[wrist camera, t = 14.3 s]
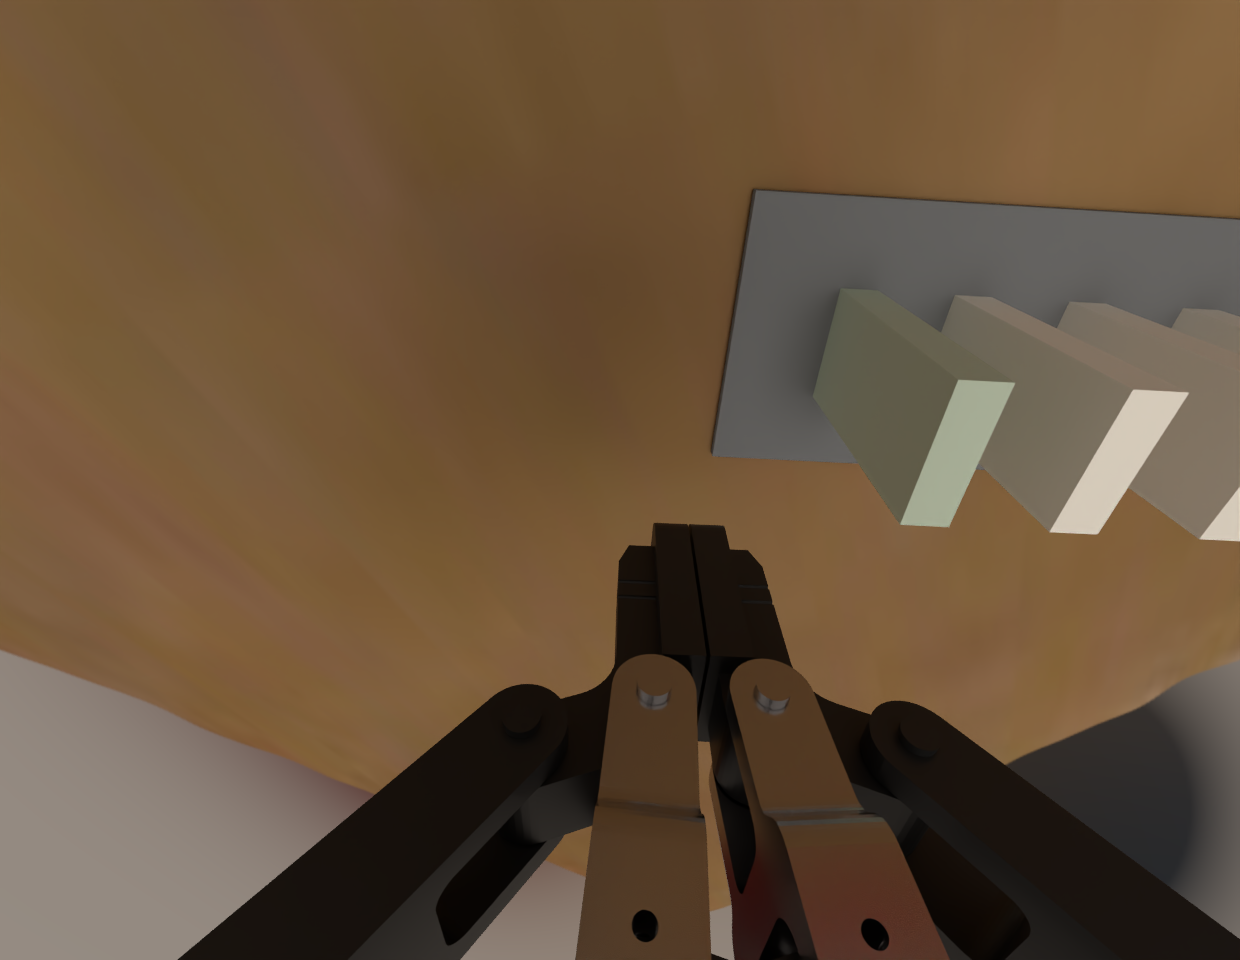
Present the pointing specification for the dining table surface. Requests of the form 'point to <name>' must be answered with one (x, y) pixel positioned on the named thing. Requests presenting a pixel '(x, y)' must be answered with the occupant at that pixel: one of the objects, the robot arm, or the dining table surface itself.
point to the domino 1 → (907, 405)
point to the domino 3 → (1179, 417)
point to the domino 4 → (1210, 327)
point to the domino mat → (935, 287)
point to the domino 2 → (1062, 415)
